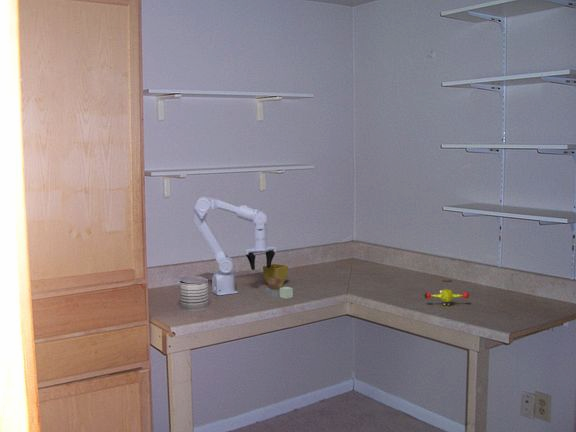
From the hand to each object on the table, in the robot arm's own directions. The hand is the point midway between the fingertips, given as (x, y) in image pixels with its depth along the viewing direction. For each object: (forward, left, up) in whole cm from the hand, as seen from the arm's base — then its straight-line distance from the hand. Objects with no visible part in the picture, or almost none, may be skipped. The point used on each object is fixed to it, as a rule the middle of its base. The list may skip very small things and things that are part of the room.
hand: (260, 268), depth 280 cm
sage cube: (+5, -14, -11) cm, 18 cm away
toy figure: (+55, -59, -11) cm, 81 cm away
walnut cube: (+3, -8, -8) cm, 12 cm away
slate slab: (+3, -8, -11) cm, 14 cm away
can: (-35, -11, -11) cm, 38 cm away
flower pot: (+12, +9, -11) cm, 18 cm away
